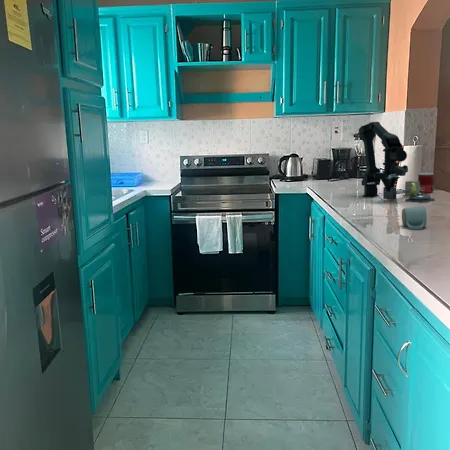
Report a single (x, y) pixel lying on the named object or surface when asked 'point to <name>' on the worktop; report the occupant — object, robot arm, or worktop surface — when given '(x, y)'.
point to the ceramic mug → (414, 217)
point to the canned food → (426, 182)
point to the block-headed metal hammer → (392, 192)
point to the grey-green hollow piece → (407, 186)
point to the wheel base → (420, 200)
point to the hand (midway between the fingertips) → (389, 191)
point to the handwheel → (419, 195)
